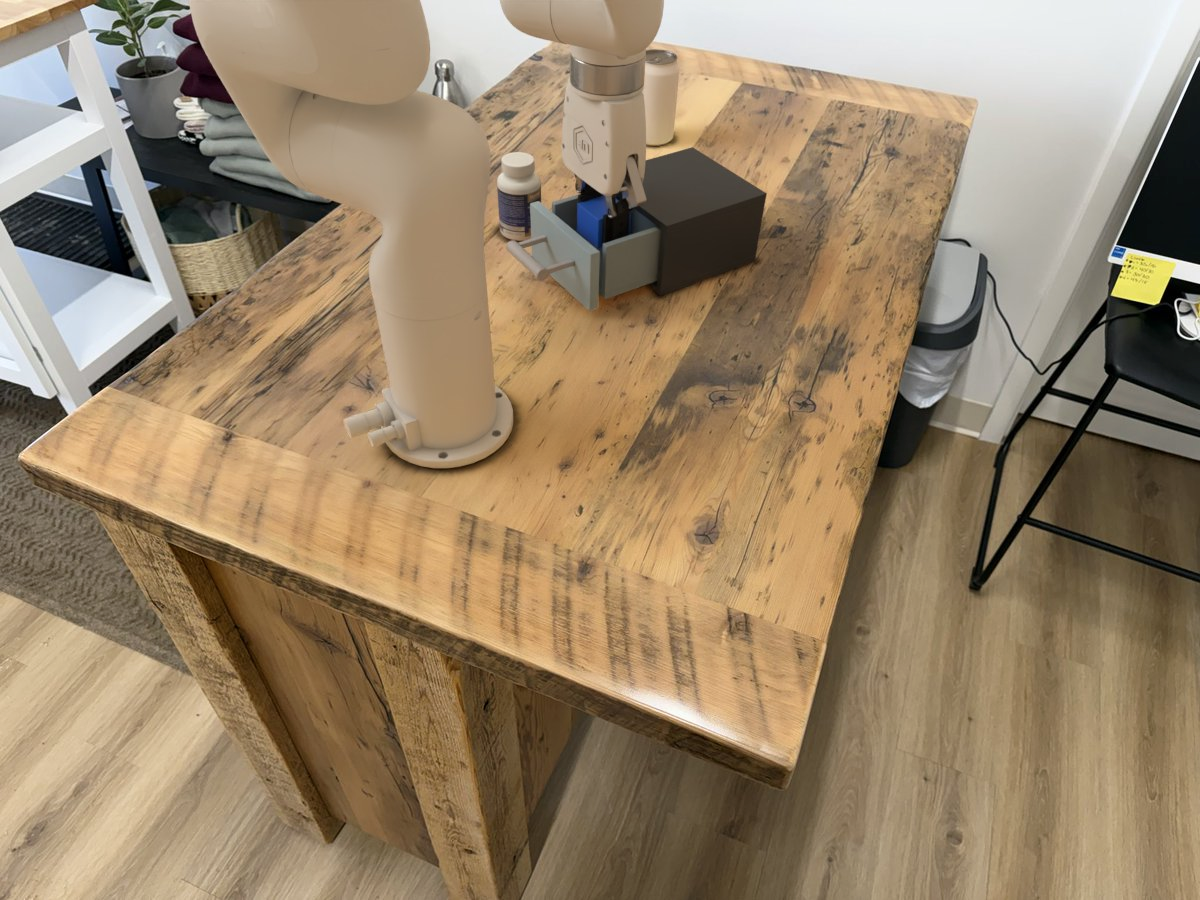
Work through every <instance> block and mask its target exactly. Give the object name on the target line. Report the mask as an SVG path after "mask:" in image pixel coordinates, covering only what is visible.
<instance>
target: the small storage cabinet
mask: <svg viewBox="0 0 1200 900" xmlns="http://www.w3.org/2000/svg"><path fill="white" fill-rule="evenodd" d="M642 185H643V189H644V192H645V195H646V203H645V204H642V205H640V206H637V207H636V208H634V209H635V210H637V211H638V212H639V213H641V214H642V215H643V216H645V217H646V218H647V219H649V220H650V221H651V222H653V223H654V224H655V225H657V226H658V227H659V228H661V229H662V235H661V246H660V258H659V269H658V281H655V282H652V283H650V284H647V285H646V286H648V287H649V288H650V289H651V290H652V291H653V292H655V293H656V294H657V295H659V296H660V297H661V296H664V295H666V294H669V293H672V292H675V291H677V290H680V289H683V288H685V287H689V286H691V285H694V284H696V283H699V282H702V281H705V280H707V279H710V278H713V277H716V276H718V275H721V274H723V273H726V272H730V271H732V270H734V269H737V268H740V267H743V266H745V265H748V264H751V263H755V261H756V255H757V250H758V245H759V239H760V234H761V228H762V222H763V216H764V212H765V211H764V210H765V205H766V201H767V200H766V199H767V192H765V191H763V190H762V189H760V188H759V187H758V186H755V185H754V184H752V183H751V182H749V181H747V180H746V179H745V178H743V177H741V176H739V175H738V174H737V173H735V172H733V171H732V170H730V169H729V168H727V167H725V166H724V165H722V164H720V163H719V162H717V161H715V160H714V159H713V158H711V157H709V156H707V155H706V154H704V153H703V152H702V151H699V150H698V149H696V148H695V147H688V148H685V149H681V150H677V151H674V152H670V153H667V154H664V155H660V156H657V157H653V158H649V159H646V164H645V174H644V179H643V183H642ZM615 195H616V196H618V197H619V198H620V199H623V196H622V193H618V194H615Z"/></svg>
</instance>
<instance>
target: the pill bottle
mask: <svg viewBox="0 0 1200 900" xmlns="http://www.w3.org/2000/svg"><path fill="white" fill-rule="evenodd" d="M500 163H501V166H500V167H501V173H500V174H499V175H498V176H497V180H496V188H497V189H496V191H497V203H498V204H497V208H498V220H499V221H498V223H499V231H500V234H501V235H502V236H503V237H504V238H505V239H508V240H510V241H511V240H514V241H516V242H518V241H519V242H522V241H525V240H528V239H531V216H530V203H533V202H537V201H539V202H540V203H542V181H541V177H540V175H538V173H537V172H536V170H535V169H536V165H535V163H536V162H535V157H534V156H533V155H532V154H531V153H527V152H523V151H513V152H508V153H507V154H504V155H503V156H502V157H501V160H500Z"/></svg>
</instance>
